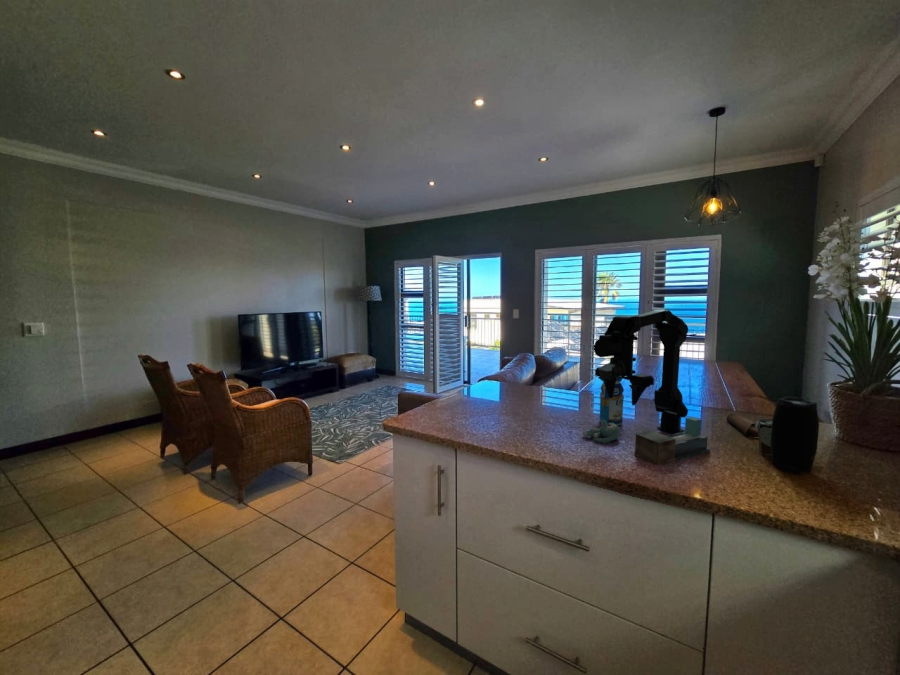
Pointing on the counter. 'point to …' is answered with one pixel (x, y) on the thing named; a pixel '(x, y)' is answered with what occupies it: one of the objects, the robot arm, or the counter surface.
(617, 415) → the beverage bottle
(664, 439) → the socket block
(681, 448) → the sleeve channel
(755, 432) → the sunglasses case
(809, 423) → the portable speaker
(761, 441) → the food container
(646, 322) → the robot arm
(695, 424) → the teal angled piece
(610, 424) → the stuffed animal
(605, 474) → the counter surface
